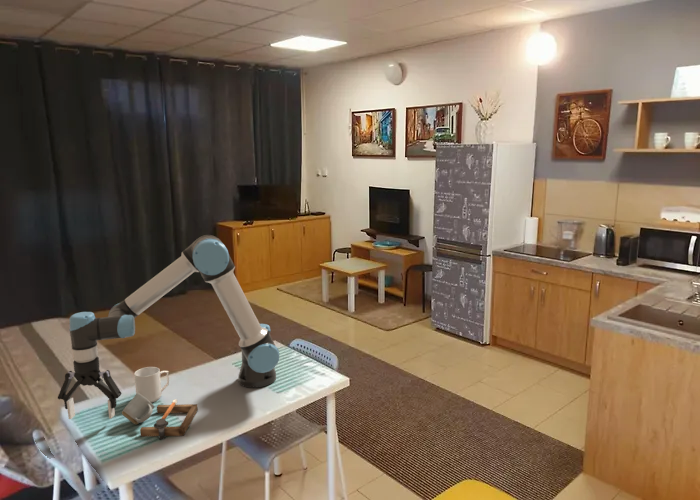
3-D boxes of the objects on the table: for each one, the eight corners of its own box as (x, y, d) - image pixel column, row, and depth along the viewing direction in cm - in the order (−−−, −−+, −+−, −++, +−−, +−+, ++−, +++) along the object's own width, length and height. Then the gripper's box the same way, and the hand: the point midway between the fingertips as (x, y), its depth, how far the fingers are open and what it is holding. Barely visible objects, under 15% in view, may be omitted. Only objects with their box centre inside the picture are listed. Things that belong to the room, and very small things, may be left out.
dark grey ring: (171, 434, 160) (170, 420, 160) (166, 442, 156) (165, 427, 155) (157, 434, 160) (156, 420, 160) (152, 442, 156) (151, 428, 155)
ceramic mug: (133, 425, 169) (117, 410, 167) (151, 406, 174) (136, 392, 172) (140, 427, 161) (123, 412, 159) (159, 407, 165) (142, 392, 163)
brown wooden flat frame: (197, 410, 176) (197, 404, 176) (183, 435, 160) (183, 428, 159) (158, 411, 176) (158, 404, 175) (140, 436, 159) (140, 429, 159)
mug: (138, 406, 179) (136, 378, 177) (134, 397, 186) (132, 370, 184) (172, 398, 185) (170, 371, 183) (167, 389, 193) (165, 363, 191)
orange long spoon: (179, 402, 172) (179, 399, 172) (164, 425, 156) (163, 423, 156) (171, 402, 172) (171, 399, 171) (155, 426, 156) (154, 423, 156)
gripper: (128, 353, 167) (133, 410, 171) (54, 354, 166) (61, 412, 170) (118, 362, 159) (124, 421, 163) (41, 363, 159) (48, 423, 162)
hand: (92, 417), depth 167 cm, fingers open, 13 cm apart
